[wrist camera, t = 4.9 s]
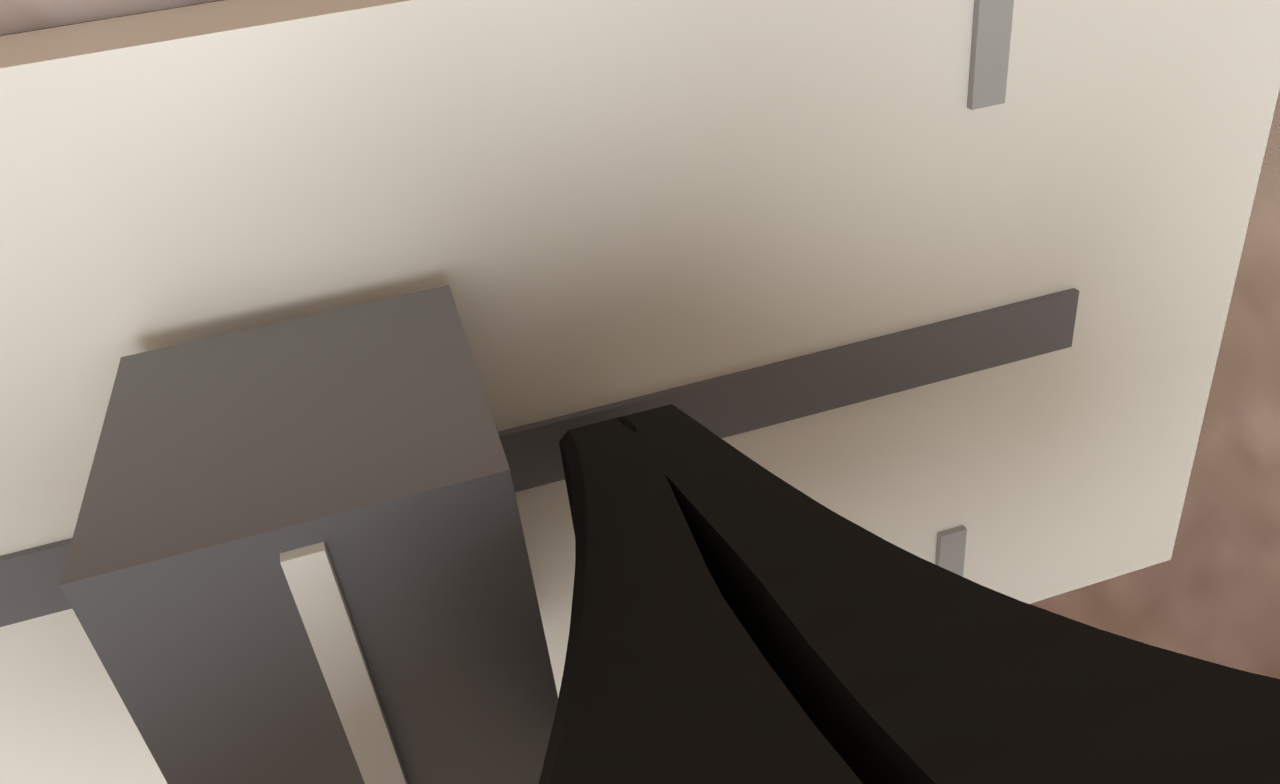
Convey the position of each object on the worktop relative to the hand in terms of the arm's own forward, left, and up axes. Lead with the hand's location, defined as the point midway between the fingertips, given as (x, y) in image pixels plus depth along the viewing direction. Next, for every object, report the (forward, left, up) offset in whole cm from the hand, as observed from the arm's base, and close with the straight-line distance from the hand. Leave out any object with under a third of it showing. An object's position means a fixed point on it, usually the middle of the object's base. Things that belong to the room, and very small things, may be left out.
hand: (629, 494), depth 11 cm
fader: (0, +3, -1) cm, 3 cm away
